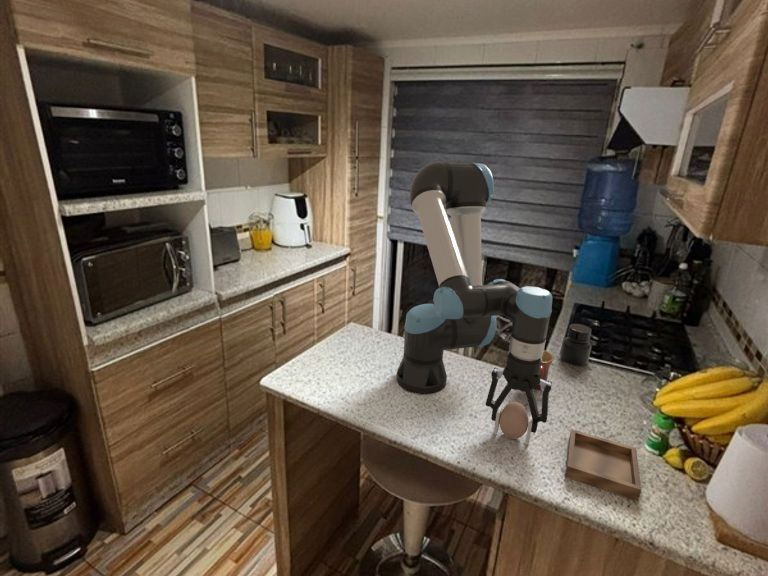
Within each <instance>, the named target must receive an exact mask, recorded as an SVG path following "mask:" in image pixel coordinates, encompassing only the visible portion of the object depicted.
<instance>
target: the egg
mask: <svg viewBox="0 0 768 576" xmlns="http://www.w3.org/2000/svg"><path fill="white" fill-rule="evenodd" d="M529 420H530V419H529V415H528V412H527V410H526V407H525V406H524V405H523V404H522V403H521V402H517V401H512V402H509V403H507V404H506V405H505V406H504V407H503V409H502V411H501V414H500V419H499V428H500V430H501V432H502V433H503V435H504V436H505V437H507V438H508V439H510V440H517V439H519V438H521V437H523V436H524V435H525V434H526V433H527V431H528V425H529Z"/></svg>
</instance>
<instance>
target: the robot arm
mask: <svg viewBox="0 0 768 576" xmlns="http://www.w3.org/2000/svg"><path fill="white" fill-rule="evenodd" d="M409 189H410V190H409V202H410V205H411V209H412V211H413V212H414V213H415V214H416V215H417V217H418V220H419V223H420V226H421V230H422V233H423V237H424V240H425V244H426V247H427V249H428V250H427V251H428V253H429V257H430V259H431V263H432V266H433V271H434V273H435V276H436V280H437V283H438V288H437V289H436V290H435V291H434V294H433V299H432V300H433V303H423V304H419V305H415V306H413V307H412V308H410V309H409V311H407V313H406V316H405V322H404V341H403V356H402V359H401V361H400V363H399V365H398V368H397V370H396V377H395V378H396V383H397V384H398V386H399V387H400V388H402V389H403V390H405V391H407V392H409V393H411V394H412V393H413V394H418V395H431V394H432V395H433V394H437V393H440V392H441V391H442V390H444V389H445V388H446V386H447V381H448V380H447V379H448V377H447V371H446V368H445V367H446V366H445V364H444V363H445V362H444V360H443V358H444V351H448V350H457V349H466V348H467V349H468V348H472V349H473V348H474V349H475V348H478V347H484V346H487V345H489V344H490V343H491V341H493V340H494V337H495V335H496V331H497V317H498V316H503V317H505V318H506V319H508V320H509V321H511V323H512V325H511V332H510V336H509V337H510V339H509V346H508V352H507V357H506V364H505V367H504V368H503V369H499V368H498V367H493V369H492V371H491V373H490V375H491V383H490V386H489V390H488V393H487V396H486V397H487V398H486V401H485V406H486V407H490V408H491V418H490V419H491V421H494V428H493V435H495V436H496V435H497V434H498V432H499V430H500V429H499V428H500V424H499V419H500V414H501V412H502V410H503V409H502V408H503V407H502V406H501V405H502V404H503V402H504V401H505V399H506V398H507V396H508V395H509V394H510V392H511V391H512V390H514V391H515V390H516V391H520V392H522V393H524V394H525V396H526V398H527V403H528V407H529V410H530V416H529V419H528V420H529V423H528V428H527V431H526V437H525V443H524V444H525V445H527V446H529V444H530V439H531V435H532V434H531V433H533V434H536V432H537V430H538V429H537V428H538V425H539V423H540V422H542V423H544V424H545V423H546V424H547V421H548V415H549V414H548V413H549V395H550V392H551V390H552V385H553V382H552V381H551V380H547V381H544V380H542V379H541V377H540V368H541V363H542V356H543V352H544V350H545V345H546V338H547V335H548V334H547V333H548V330H549V329H548V328H549V325H550V320H551V319H550V317H551V315H552V311H553V310H552V309H553V308H552V306H553V305H552V304H553V294H552V293H551V292H550V291H549V290H547V289H545V288H541V287H537V286H522V287H519V286H517V285H515V284H514V283H513V282H510V281H508V280H505V279H502V278H497V279H494V280H493V281H489V282H488V284H483V269H482V268H483V267H482V266H483V265H482V264H483V262H482V259H483V258H482V221H481V220H482V215H483V213H484V212H485V210H486V209H487V204H488V203H489V202H491V200H492V199H493V194H494V192H495V182H494V177H493V174H492V171H491V170H490V169H489V168H488V167H487V165H486V164H483V163H477V162H472V161H469V162H468V161H467V162H462V161H461V162H458V161H457V162H456V161H455V162H453V161H450V162H449V161H433V162H430V163H428V164H426V165H425V166H423V167H422V168H420V169H419V170H418V171H417V173H416V174H415V176H414V178H413V179H412V181H411V185H410V187H409ZM502 376H503V377H504V379H505V381H506V382H507V383H506V384H505V386H504V388H503V389H502V391H501V393H500V394H499V396H498V397H497V399H495V400H493V399H494V396H495V393H496V390H497V386H498V383H499V380H500V379H501V378H502ZM538 384H540V386H541V389H540V390H541V391H542V395H541V413H539V408H538V405H537V400H536V396H535V390H534V389H533V388H534V387H536V386H537V385H538Z"/></svg>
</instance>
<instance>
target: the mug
mask: <svg viewBox="0 0 768 576" xmlns="http://www.w3.org/2000/svg"><path fill="white" fill-rule="evenodd" d="M554 360H555V358H554V355H553V354H552V353H551V352H549V351H547V350H545V349H544V352H543V356H542V363H541V368H540V377H541V379H542V380H544V381H548V376H549V370H550V366H551V365H552V364H553V362H554ZM533 389H534V391H540V390H541V386H540V384H538V385H537V386H536V387H534V388H533Z"/></svg>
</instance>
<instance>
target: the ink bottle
mask: <svg viewBox="0 0 768 576" xmlns="http://www.w3.org/2000/svg"><path fill="white" fill-rule="evenodd" d="M591 335H592V328H591V327H589V326H587V325H585V324H581V323H571V324H570V325H568V330H567V337H566V336H565V338H563V340H562V343H561V349H560V354H559V358H560V359H561V360H562V361H563V362H565V363H566V364H569V365H573V366H579V367H581V366H582V367H583V366H585V365H587V364H588V363H589V359H590V355H591V350H592V344H591V342H590V339H591Z"/></svg>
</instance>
